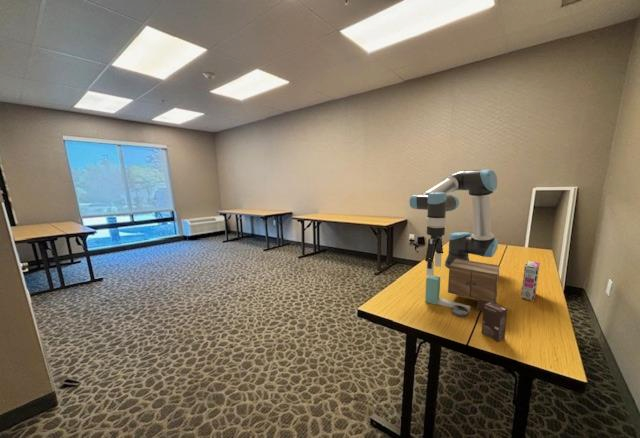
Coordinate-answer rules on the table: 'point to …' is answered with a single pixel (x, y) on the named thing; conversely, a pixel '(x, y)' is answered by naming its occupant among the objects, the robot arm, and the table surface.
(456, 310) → the disc
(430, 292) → the tool
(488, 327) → the box
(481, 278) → the wooden cabinet
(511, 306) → the table surface
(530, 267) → the candy bar box
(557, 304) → the table surface
